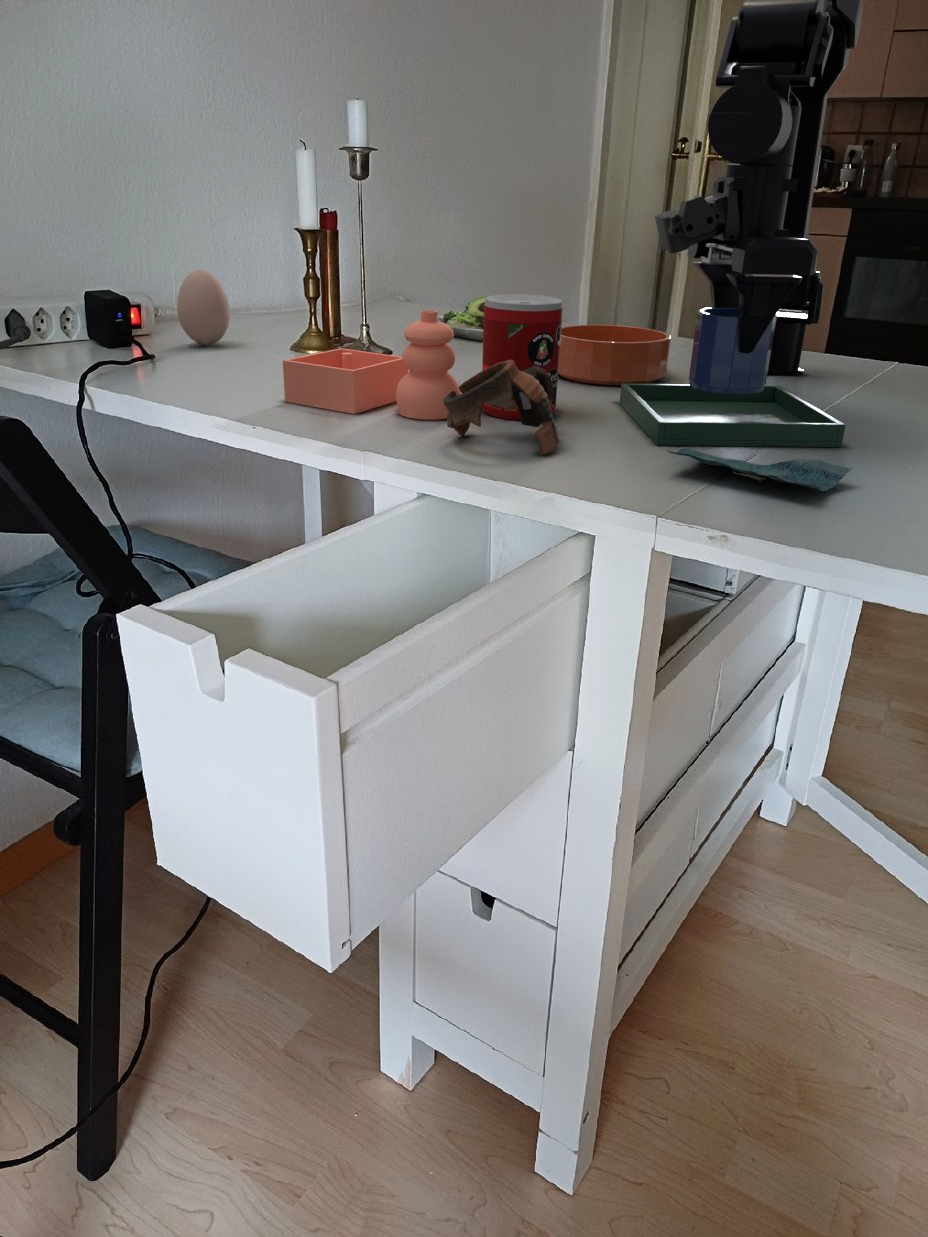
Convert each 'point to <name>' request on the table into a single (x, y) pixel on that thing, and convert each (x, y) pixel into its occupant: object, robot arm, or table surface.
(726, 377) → the blue cup
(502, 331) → the canned food
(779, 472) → the terrain model
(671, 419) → the green tray
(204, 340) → the egg
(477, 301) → the salad plate
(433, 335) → the pottery
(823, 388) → the table surface
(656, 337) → the terracotta bowl
